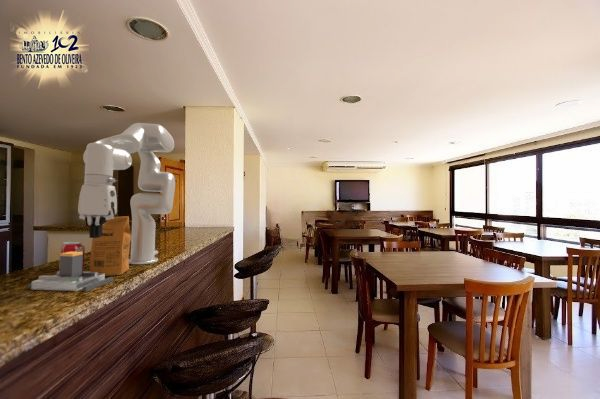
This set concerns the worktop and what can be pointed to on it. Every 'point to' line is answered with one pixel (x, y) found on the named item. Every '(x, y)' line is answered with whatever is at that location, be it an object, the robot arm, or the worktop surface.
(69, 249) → the soda can
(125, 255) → the coffee package
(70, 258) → the grey block
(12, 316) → the worktop surface
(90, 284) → the grey thin bar
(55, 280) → the breaker panel
